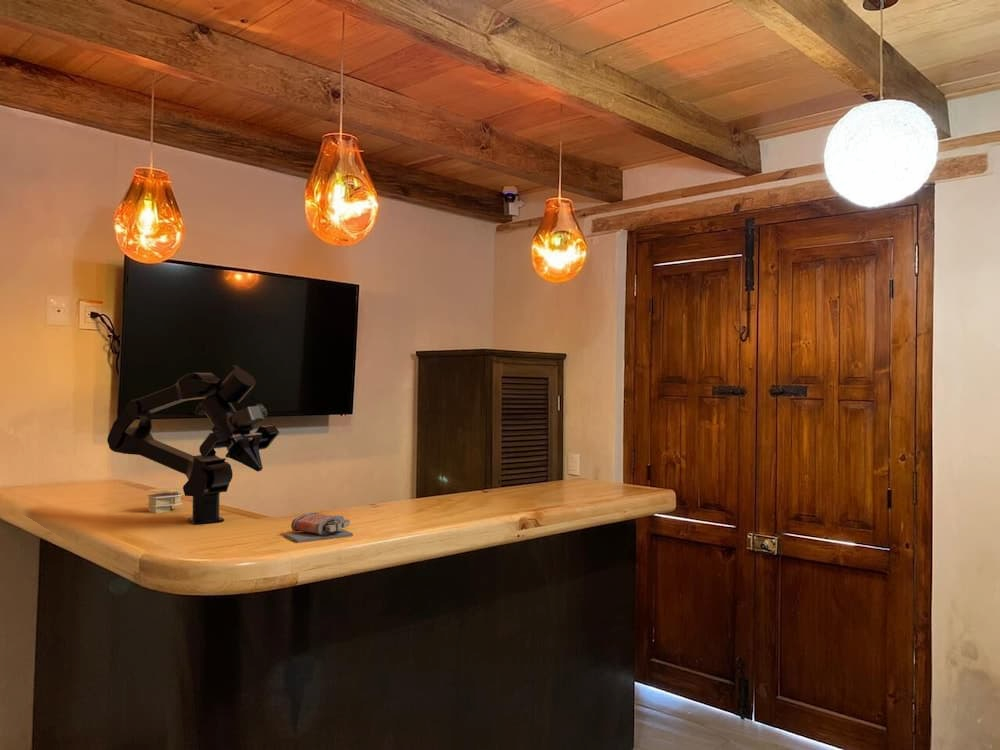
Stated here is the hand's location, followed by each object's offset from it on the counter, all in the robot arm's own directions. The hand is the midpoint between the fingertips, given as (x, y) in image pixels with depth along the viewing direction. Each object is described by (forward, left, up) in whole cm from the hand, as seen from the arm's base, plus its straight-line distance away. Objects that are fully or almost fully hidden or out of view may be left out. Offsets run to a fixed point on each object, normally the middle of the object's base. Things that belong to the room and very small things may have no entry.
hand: (260, 470), depth 164 cm
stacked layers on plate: (-33, -12, -13) cm, 37 cm away
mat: (+15, +7, -13) cm, 21 cm away
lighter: (+10, +6, -10) cm, 15 cm away
